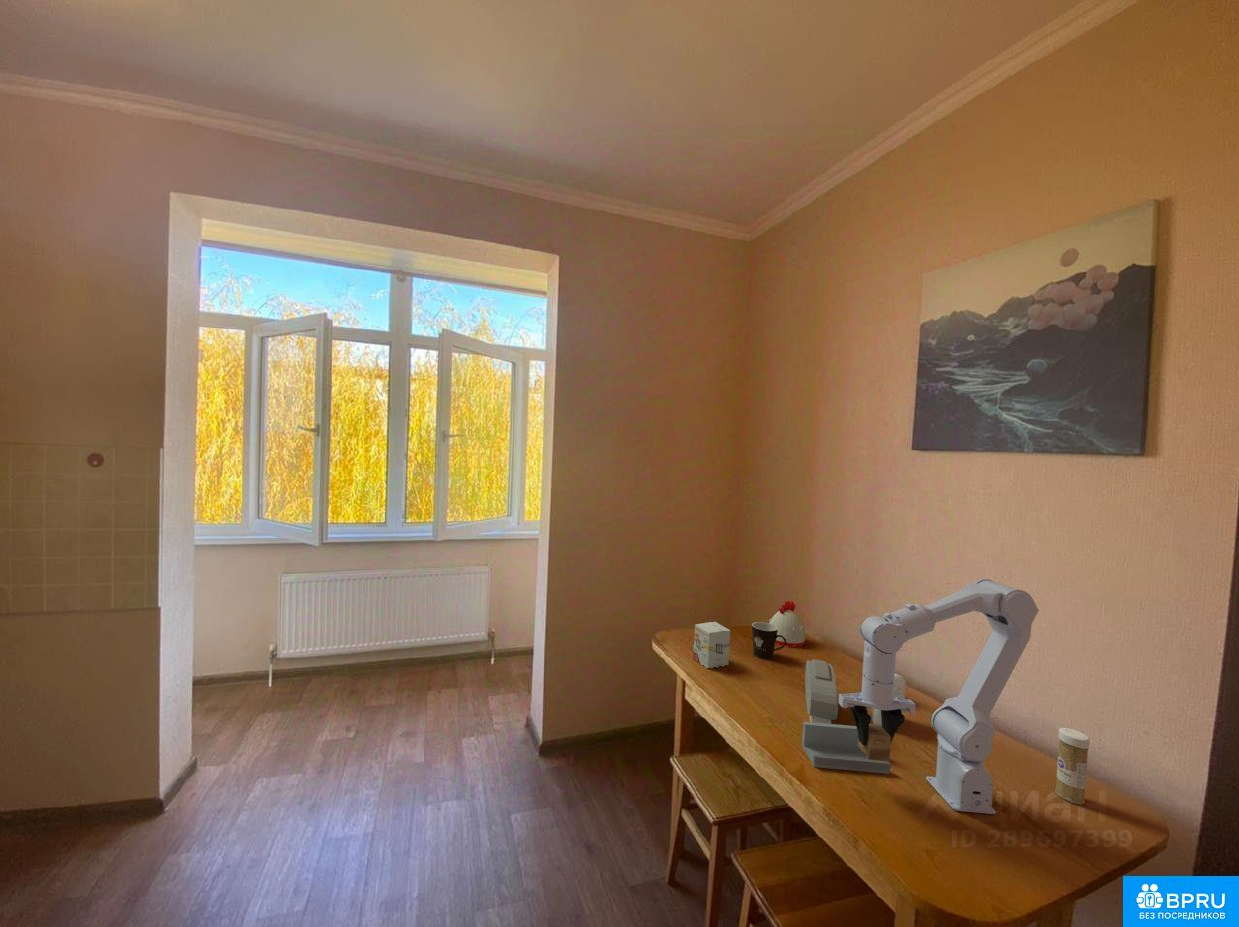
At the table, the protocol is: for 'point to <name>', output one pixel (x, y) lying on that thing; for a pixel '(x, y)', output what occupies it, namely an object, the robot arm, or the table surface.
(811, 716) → the alarm clock
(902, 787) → the table surface
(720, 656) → the ink box
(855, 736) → the wall shelf
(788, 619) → the white and red dome
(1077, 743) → the sprinkles bottle
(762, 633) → the coffee mug
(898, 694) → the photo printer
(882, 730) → the cabinet block
